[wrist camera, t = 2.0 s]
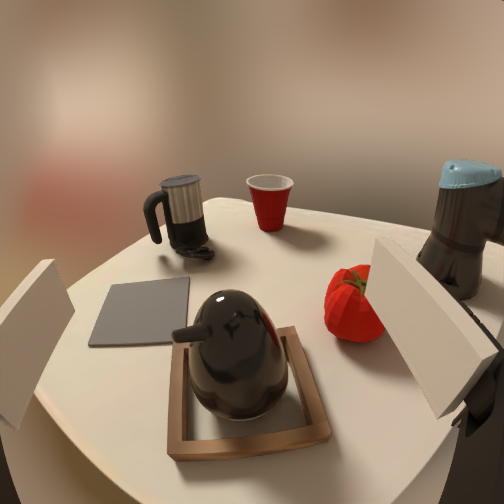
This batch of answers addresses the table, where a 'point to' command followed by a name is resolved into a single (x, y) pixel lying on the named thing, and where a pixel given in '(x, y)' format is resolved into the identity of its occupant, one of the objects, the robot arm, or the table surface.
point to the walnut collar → (247, 445)
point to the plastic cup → (270, 199)
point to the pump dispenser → (235, 357)
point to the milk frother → (180, 216)
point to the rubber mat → (142, 313)
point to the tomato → (351, 307)
